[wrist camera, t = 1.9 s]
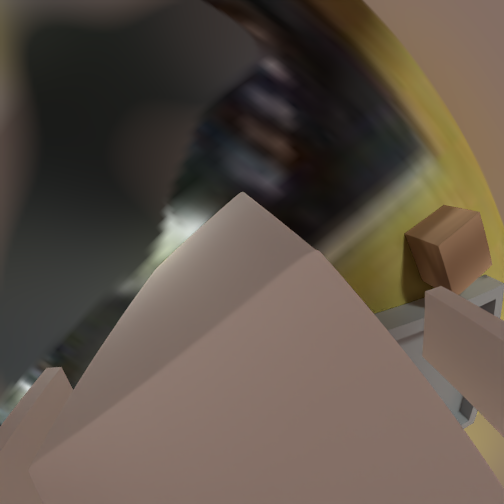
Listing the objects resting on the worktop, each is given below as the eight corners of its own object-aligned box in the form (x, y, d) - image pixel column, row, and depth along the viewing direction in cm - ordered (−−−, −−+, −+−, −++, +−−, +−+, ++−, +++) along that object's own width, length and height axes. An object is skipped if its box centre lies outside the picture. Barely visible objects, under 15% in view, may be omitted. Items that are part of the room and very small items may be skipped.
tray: (311, 331, 20) (321, 350, 18) (485, 274, 21) (504, 283, 18) (326, 465, 24) (332, 484, 22) (462, 409, 25) (473, 422, 22)
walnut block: (403, 233, 19) (438, 245, 15) (442, 204, 19) (479, 212, 15) (421, 280, 20) (453, 299, 16) (457, 251, 20) (492, 264, 16)
